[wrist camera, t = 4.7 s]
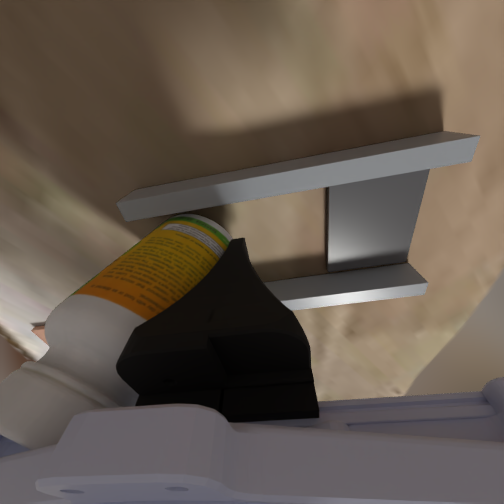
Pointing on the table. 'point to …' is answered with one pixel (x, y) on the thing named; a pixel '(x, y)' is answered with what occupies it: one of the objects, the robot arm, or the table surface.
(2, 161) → the table surface
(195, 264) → the supplement bottle
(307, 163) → the channel
